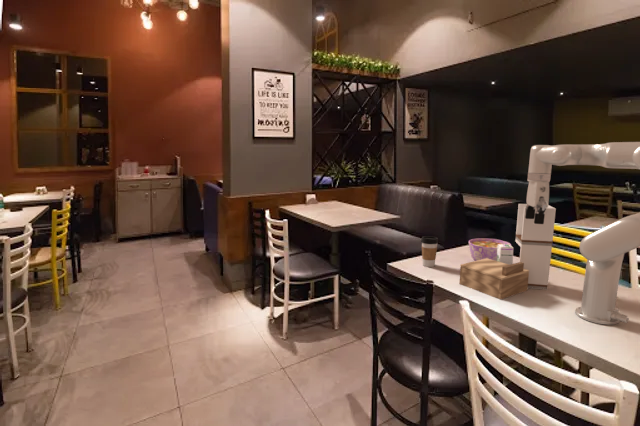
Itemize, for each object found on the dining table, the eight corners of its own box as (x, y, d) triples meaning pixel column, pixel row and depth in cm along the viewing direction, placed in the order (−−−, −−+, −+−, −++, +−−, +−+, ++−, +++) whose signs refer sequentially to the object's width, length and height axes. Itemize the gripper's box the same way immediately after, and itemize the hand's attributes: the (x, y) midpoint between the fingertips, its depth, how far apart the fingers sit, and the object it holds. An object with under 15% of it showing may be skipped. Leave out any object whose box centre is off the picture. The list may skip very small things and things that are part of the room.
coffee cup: (416, 264, 192) (417, 236, 190) (429, 262, 196) (430, 234, 193) (427, 268, 185) (428, 239, 182) (440, 266, 188) (442, 237, 186)
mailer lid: (529, 272, 154) (529, 262, 154) (502, 279, 146) (503, 269, 145) (486, 259, 171) (487, 250, 171) (460, 266, 163) (461, 256, 162)
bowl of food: (468, 268, 184) (470, 246, 182) (465, 257, 203) (466, 237, 201) (513, 272, 178) (515, 249, 176) (505, 260, 197) (507, 239, 195)
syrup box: (511, 277, 171) (514, 247, 169) (498, 276, 173) (500, 246, 170) (508, 273, 177) (510, 244, 174) (495, 272, 178) (497, 243, 176)
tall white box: (539, 281, 167) (547, 204, 160) (547, 289, 157) (555, 208, 150) (512, 278, 170) (518, 203, 164) (517, 287, 160) (524, 207, 153)
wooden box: (527, 290, 156) (528, 272, 154) (500, 299, 147) (502, 280, 146) (485, 276, 173) (486, 260, 171) (459, 283, 164) (460, 266, 163)
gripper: (559, 180, 132) (553, 226, 136) (540, 175, 149) (536, 217, 152) (536, 179, 134) (531, 225, 137) (520, 175, 151) (516, 216, 154)
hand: (534, 221), depth 145 cm, fingers open, 9 cm apart
